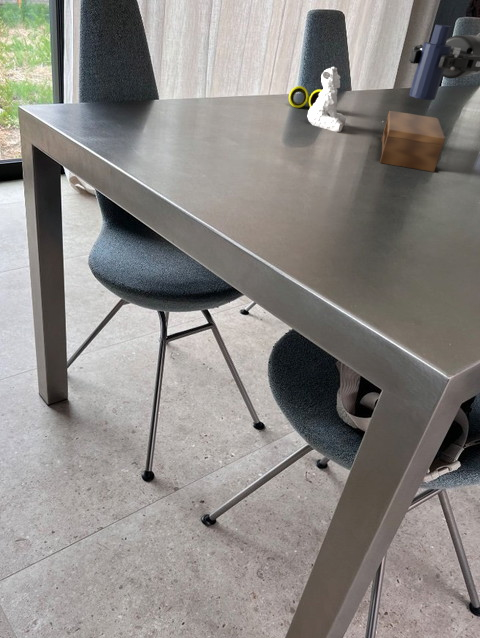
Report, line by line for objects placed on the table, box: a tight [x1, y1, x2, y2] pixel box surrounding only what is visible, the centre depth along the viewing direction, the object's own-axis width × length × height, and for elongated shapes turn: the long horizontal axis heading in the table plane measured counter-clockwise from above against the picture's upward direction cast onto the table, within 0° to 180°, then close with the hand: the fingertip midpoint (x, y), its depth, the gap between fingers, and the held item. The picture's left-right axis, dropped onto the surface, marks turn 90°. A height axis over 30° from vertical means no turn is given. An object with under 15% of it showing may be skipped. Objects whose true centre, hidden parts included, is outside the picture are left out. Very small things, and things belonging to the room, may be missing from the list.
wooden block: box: [379, 110, 446, 173], centre depth 113 cm, size 10×20×6 cm, turn 164°
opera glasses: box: [288, 85, 323, 109], centre depth 143 cm, size 10×5×5 cm, turn 69°
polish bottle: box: [408, 24, 452, 101], centre depth 107 cm, size 5×5×12 cm
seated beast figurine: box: [306, 66, 347, 133], centre depth 126 cm, size 10×9×12 cm
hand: (427, 59), depth 105 cm, fingers closed on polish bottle, 5 cm apart
